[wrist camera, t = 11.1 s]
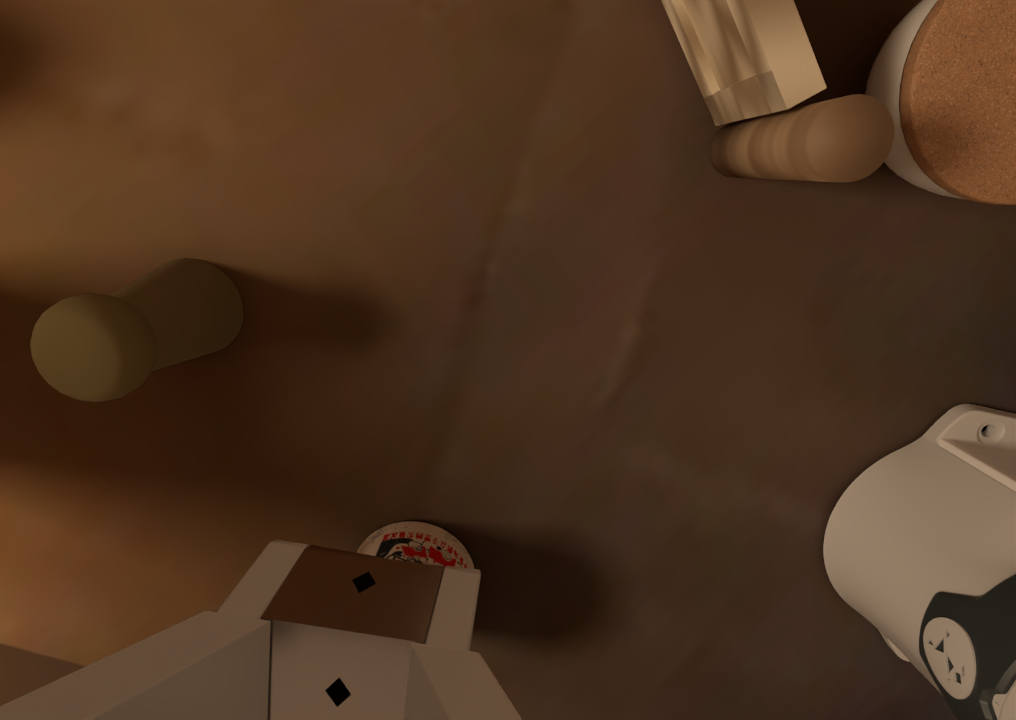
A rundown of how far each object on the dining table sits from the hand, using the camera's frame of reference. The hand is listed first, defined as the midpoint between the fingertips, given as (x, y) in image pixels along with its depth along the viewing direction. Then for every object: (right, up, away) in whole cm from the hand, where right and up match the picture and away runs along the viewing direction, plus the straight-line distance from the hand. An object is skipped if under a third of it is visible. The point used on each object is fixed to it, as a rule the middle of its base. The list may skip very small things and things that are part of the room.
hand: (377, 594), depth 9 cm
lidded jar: (+25, +18, +25) cm, 39 cm away
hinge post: (+15, +15, +26) cm, 33 cm away
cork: (-18, +7, +30) cm, 35 cm away
